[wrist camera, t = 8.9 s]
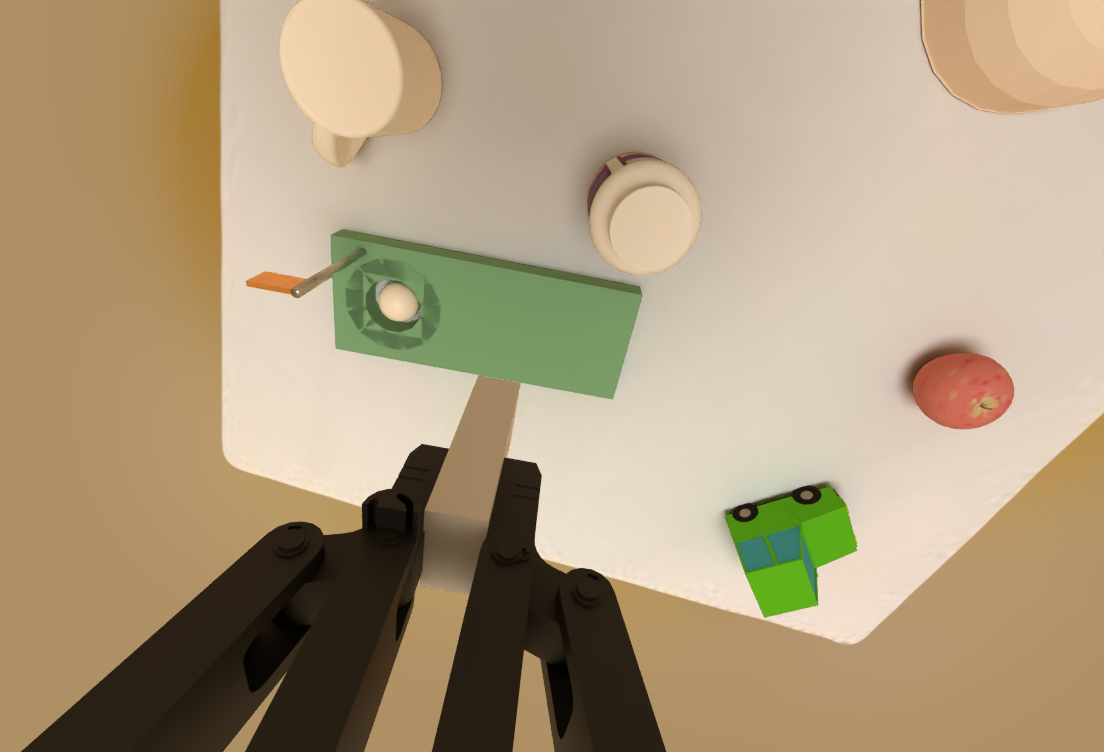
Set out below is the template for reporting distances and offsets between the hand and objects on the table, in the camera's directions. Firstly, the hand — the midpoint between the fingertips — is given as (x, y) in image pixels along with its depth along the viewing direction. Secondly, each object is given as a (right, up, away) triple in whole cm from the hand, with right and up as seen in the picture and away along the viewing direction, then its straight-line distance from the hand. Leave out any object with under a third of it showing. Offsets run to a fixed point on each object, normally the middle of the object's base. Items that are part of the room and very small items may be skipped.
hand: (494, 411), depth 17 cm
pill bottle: (+9, +18, +27) cm, 34 cm away
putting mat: (-5, +8, +33) cm, 34 cm away
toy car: (+32, -17, +44) cm, 57 cm away
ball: (-12, +9, +32) cm, 35 cm away
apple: (+43, +2, +34) cm, 54 cm away
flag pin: (-18, +13, +28) cm, 36 cm away
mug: (-13, +25, +24) cm, 37 cm away
